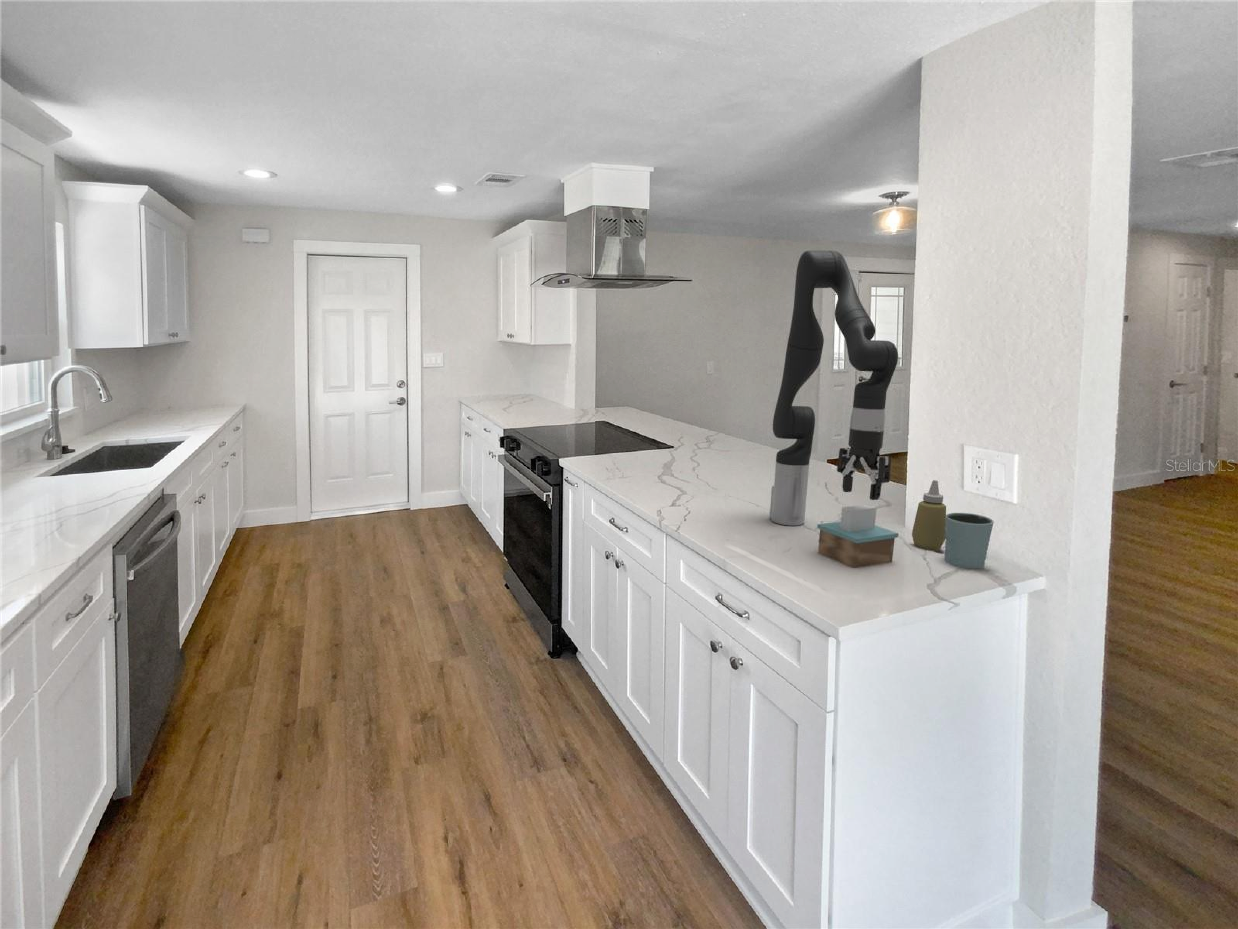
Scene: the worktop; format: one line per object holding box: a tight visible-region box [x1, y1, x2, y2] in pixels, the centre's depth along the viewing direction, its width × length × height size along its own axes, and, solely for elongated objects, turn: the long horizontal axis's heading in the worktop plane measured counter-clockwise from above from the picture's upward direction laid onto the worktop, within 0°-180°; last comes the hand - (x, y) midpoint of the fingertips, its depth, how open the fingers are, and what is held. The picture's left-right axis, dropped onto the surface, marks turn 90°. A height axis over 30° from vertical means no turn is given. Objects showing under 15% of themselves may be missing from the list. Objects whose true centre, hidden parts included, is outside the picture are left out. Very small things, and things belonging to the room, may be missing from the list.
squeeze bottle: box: [911, 479, 947, 553], centre depth 182 cm, size 8×8×18 cm
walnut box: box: [817, 529, 896, 569], centre depth 172 cm, size 12×12×7 cm
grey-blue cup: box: [944, 512, 995, 570], centre depth 170 cm, size 10×10×12 cm
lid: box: [816, 504, 899, 543], centre depth 171 cm, size 13×13×7 cm
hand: (860, 495), depth 169 cm, fingers open, 8 cm apart
